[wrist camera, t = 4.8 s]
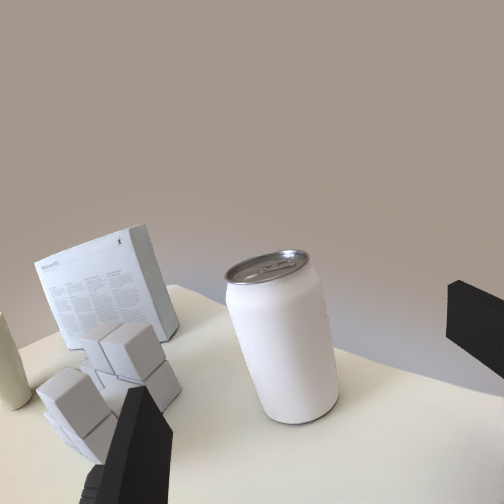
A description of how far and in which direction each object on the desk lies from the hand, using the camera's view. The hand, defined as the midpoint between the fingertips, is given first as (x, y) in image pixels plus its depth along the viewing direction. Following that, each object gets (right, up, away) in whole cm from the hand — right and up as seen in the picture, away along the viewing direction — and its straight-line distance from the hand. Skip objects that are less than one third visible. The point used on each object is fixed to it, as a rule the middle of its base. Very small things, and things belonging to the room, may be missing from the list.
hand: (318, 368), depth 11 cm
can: (+2, -8, +12) cm, 14 cm away
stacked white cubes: (-17, -12, +14) cm, 25 cm away
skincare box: (-23, -9, +32) cm, 41 cm away
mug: (-36, -16, +18) cm, 43 cm away
